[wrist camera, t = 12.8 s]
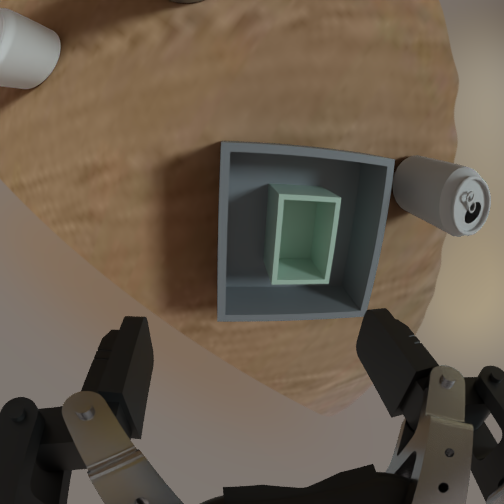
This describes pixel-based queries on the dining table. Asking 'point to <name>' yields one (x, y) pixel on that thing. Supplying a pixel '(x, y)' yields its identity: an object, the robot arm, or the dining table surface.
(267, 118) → the dining table surface
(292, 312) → the big crate
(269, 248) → the small crate
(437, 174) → the can
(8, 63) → the white cylinder
